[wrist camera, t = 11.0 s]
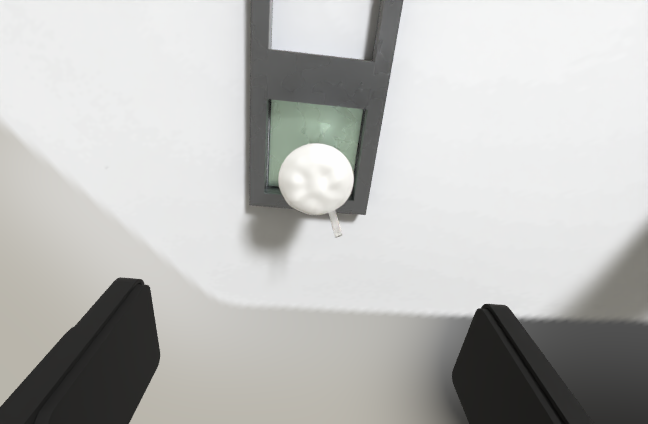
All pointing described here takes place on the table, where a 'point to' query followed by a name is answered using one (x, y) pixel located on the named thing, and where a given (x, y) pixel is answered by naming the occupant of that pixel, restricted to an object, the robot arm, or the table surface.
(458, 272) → the table surface
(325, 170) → the milkshake
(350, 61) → the two-slot gray tray
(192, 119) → the table surface
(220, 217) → the table surface
